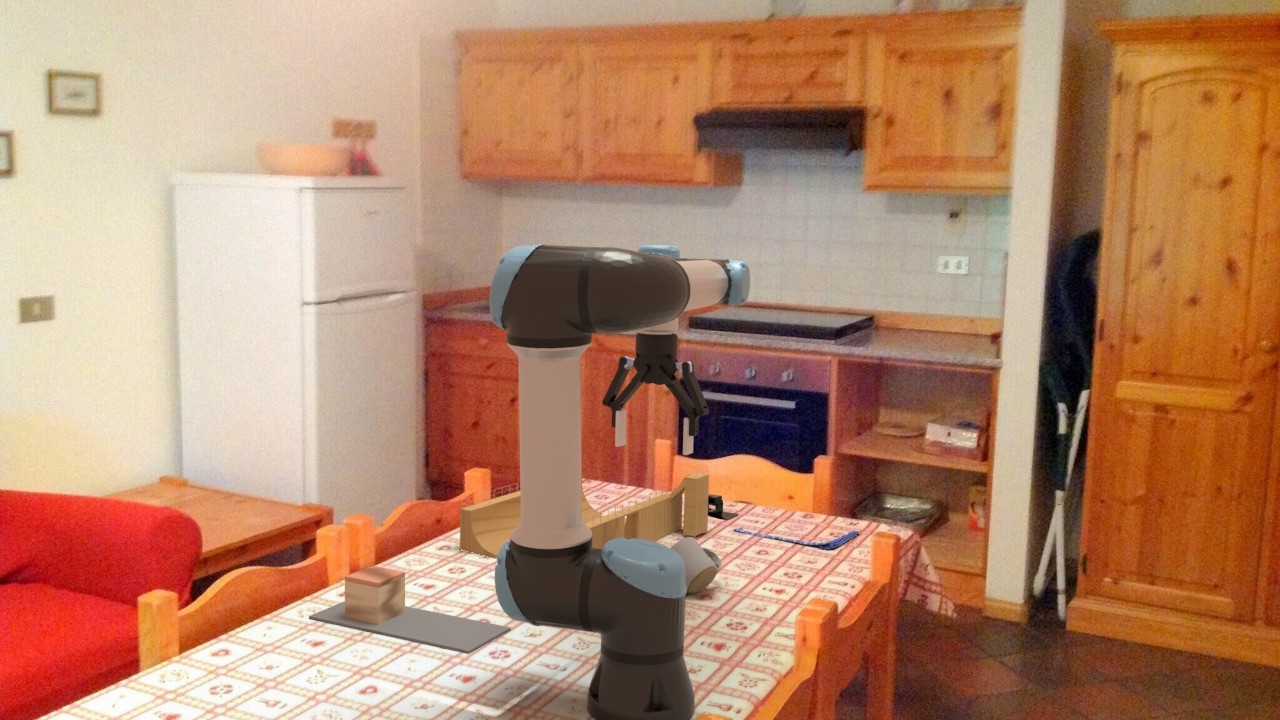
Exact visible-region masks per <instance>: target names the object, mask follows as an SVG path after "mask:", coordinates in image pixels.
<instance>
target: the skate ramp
mask: <svg viewBox="0 0 1280 720" xmlns="http://www.w3.org/2000/svg"><path fill="white" fill-rule="evenodd" d="M698 466H700V467H701V465H700V464H699V465H698V464H697V467H698ZM704 469H708V465H707V466H706V465H704V467H703V468H701V471H702V473H700V472H698V471H700V469H697V472H695V469H691V471H694V473H692V474H689V473H688V474H687V475H685V476H684V477H683V478H682V481H681V482H680V483H679V485H677V487H675V488H674V490H672V491H671V492H670V493H669V487H667V489H668V491H667V492H665V493H664V492H663V491H664V490H666V488H664V489H662V490H661V489H660V490H658V491H656V492H653V493H651V494H648V497H650V498H648V499H646V500H642V501H640V502H638V501H637V500H640V499H644V498H645V497H647V495H645V496H643V497H639V498H638V499H635V500H631V501H630V502H629V501H628V502H627V504H630V503H631V502H632V503H633V502H634V501H635V504H633V505H629V506H627V507H625V508H624V505H625V503H623V504H621V505H618V506H616V508H617V507H621V506H622V507H621V509H619V510H615V511H614V512H611V513H610V510H612V509H613V510H614V507H613V508H610V509H606V510H605V511H602V512H599V511H598V510H596V509H595V508H594V507H592V505H591V504H590V503H589V502H588V500H587V498H586V496H585V493H584V488H583V476H582V474H583V472H582V471H583V470H582V467H581V520H582V522H583V523H584V524H586V525H587V526H588V527H589V528H590V529H591V531H592V546H593V548H598V549H602V548H603V547H604V545H605V544H606V543H607V542H608V541H610V540H613V539H619V538H625V539H631V538H635V539H643V540H648V541H652V542H657V541H660V540H662V539H663V538H666V537H668V536H670V535H672V534H674V533H676V532H678V531H680V530H682V529H683V533H682V537H683V538H682V539H684V538H686V536H690V537H693V538H694V539H695V540H696V536H698V535H701V534H703V533H704V535H706V534H708V533H707V532H708V520H709V519H708V518H709V516H708V494H709V488H710V486H709V485H710V474H709V470H706V473H704V472H705V470H704ZM687 470H688V471H689V469H685V471H687ZM519 483H520V482H516V491H513V492H511V491H512V488H511V486H512V485H514V483H512V484H509V485H508V487H509V489H508V490H506V491H508V492H509V493H507V494H504V495H500V496H497V497H495V496H496V495H497V494H500V493H501V494H502V493H504V492H505V491H503V490H502V491H501V492H496V493H495V491H496V490H499V489H500V487H499V488H495V489H493V490H489V491H484V493H485V494H487V493H488V492H491V491H493V494H491V495H489V497H490V496H493V498H490V499H486V500H484V501H480V502H477V503H474V504H471V503H472V502H473V501H478V498H477V499H474V500H471V497H475V496H476V494H475V495H472V496H468V497H465V498H461V499H460V508H459V550H460V549H462V550H465V551H468V552H473V553H476V554H475V555H477V554H480V555H479V556H483V555H485V556H484V557H487V556H488V557H487V558H492V559H496V558H497V556H498V553H499V551H500V549H501V547H502V545H503V544H504V543H505V542H506V541H508V540H510V533H511V531H512V530H513V529H514V528H515V527H516V526H517V525H518V524H519V523H520V522H521V494H520V490H518V488H519ZM505 487H507V485H506V486H502V487H501V489H503V488H505ZM659 492H661V495H656V496H655V497H652V498H651V495H653V494H657V493H659ZM481 494H483V492H482V493H479V494H477V496H479V495H481ZM683 494H684V501H683ZM468 498H469V499H468ZM480 499H485V496H484V497H481V498H480V497H479V500H480ZM463 500H466V501H467V502H464V503H462V502H463ZM683 502H684V503H683ZM467 503H468V505H466V504H467ZM463 505H465V506H464V507H463ZM603 512H607V514H606V516H601V515H602V514H603ZM682 525H683V526H682ZM468 552H467V553H468ZM473 553H472V554H473Z"/></svg>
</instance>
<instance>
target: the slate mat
mask: <svg viewBox="0 0 1280 720" xmlns="http://www.w3.org/2000/svg"><path fill="white" fill-rule="evenodd" d="M308 619H310V620H314V621H319V622H323V623H328V624H332V625H337V626H342V627H346V628H350V629H351V628H352V629H356V630H360V631H365V632H369V633H375V634H377V635H382V636H388V637H391V638H392V637H393V638H397V639H402V640H406V641H410V642H414V643H419V644H423V645H429V646H433V647H439V648H443V649H448V650H452V651H456V652H461V653H466V654H471V653H473V652H474V651H476V650H478V649H480V648H481V647H483V646H485V645H487V644H488V643H490V642H492V641H494V640H495V639H497V638H499V637H500V636H502V635H504V634H507V633H508V632H510V631H511V630H512V627H509V626H505V625H501V624H495V623H491V622H485V621H480V620H475V619H471V618H465V617H461V616H460V617H459V616H455V615H451V614H447V613H446V614H445V613H441V612H437V611H432V610H431V611H430V610H426V609H421V608H416V607H412V606H407V605H405V612H404V613H402V614H400V615H398V616H396V617H394V618H391V619H389V620H387V621H385V622H383V623H381V624H379V625H378V624H374V623H369V622H364V621H360V620H355V619H350V618H346V617H345V600H344V601H342V602H339V603H338V604H334V605H333V606H330V607H328V608H327V607H326V608H325V609H323V610H321V611H317V612H315V613H313V614H311V615H308Z"/></svg>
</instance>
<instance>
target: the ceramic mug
mask: <svg viewBox="0 0 1280 720" xmlns="http://www.w3.org/2000/svg"><path fill="white" fill-rule="evenodd" d="M670 548H671V549H673V550H674V551H675V552H676V553H678V554H679V555H680V556H681V558H682V559H683V561H684V564H685V582H686V586H687V593H688V594H691V595H692V594H698V593H700V592H701V591H703V590H705V589H706V588H707V587H708V586H709V585H711V583H712V582H714V580H715V578H716V576H717V574H718V573H719V572H720V570H721V569H722V566H723V565H722V564H723V563H722V561H721V558H720V557H719V556H718V554H717V553H716V552H714V551H713V550H712V549H709V548H706V547H703V546H701V545H700V544H699V542H698V541H697V540H696V538H695V539H694V536H687V537H686V536H685V538H682V539H680V540H678V541H677V542H675V543H674V544H673V545H672V546H671V547H670Z"/></svg>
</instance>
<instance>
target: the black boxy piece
mask: <svg viewBox="0 0 1280 720" xmlns="http://www.w3.org/2000/svg"><path fill="white" fill-rule="evenodd" d="M710 506H712V507H714V508H712V507H710ZM739 515H740V514H739V513H736V512H728V511H724V500H723V496H722V495H719V494H712V493H711V494H710V493H708V517H711V518H713V519H714V518H715V519H718V520H722V521H729V520H733V519H735V518H737V517H739Z"/></svg>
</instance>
